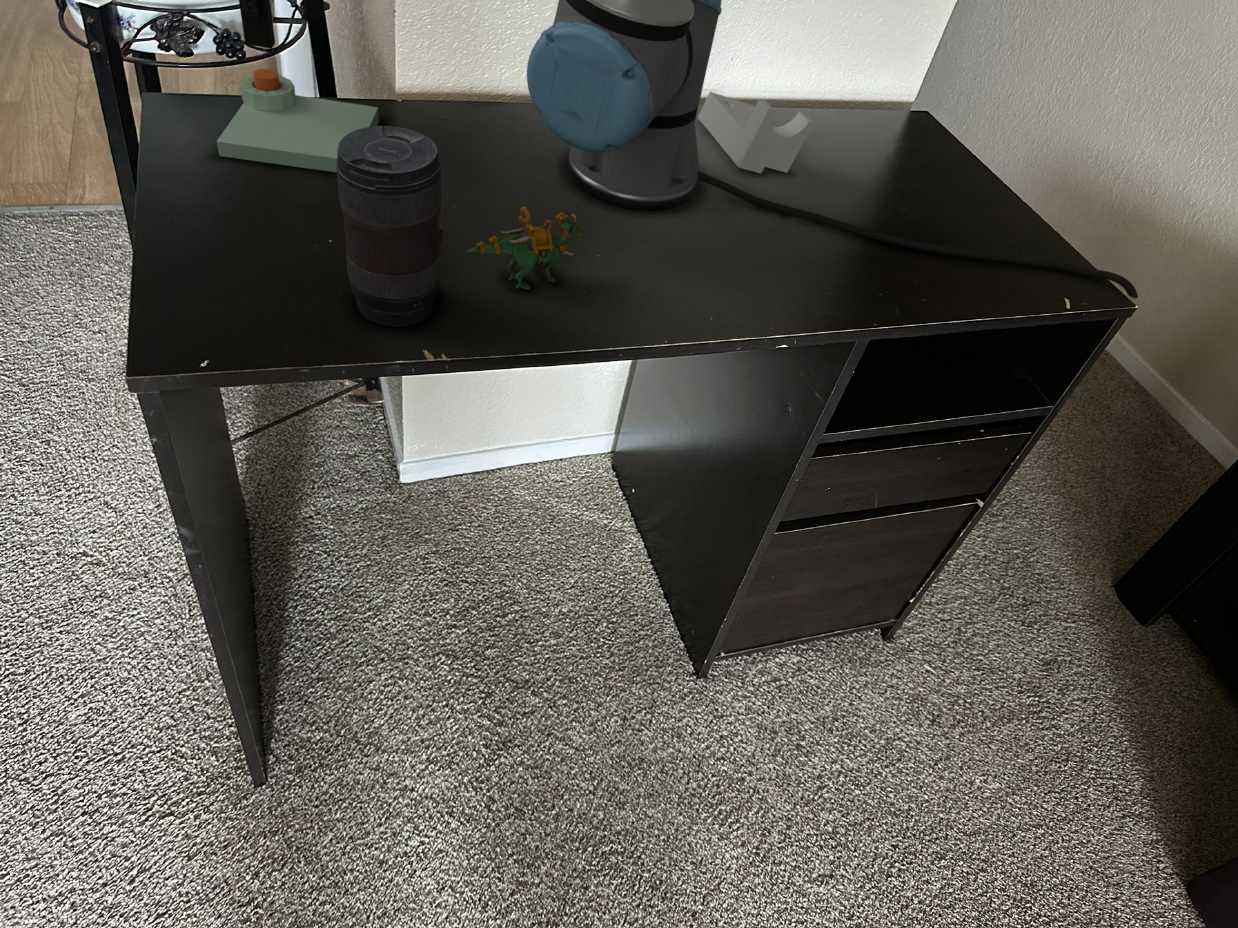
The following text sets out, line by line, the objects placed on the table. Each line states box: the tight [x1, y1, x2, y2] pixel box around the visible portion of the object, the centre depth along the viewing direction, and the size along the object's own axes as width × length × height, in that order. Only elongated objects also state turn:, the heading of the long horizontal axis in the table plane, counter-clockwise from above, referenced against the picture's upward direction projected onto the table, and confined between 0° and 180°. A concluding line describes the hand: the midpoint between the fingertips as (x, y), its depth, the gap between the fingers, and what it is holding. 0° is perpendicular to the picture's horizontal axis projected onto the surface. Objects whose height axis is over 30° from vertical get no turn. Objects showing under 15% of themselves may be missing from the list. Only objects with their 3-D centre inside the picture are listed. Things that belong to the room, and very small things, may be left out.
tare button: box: [252, 68, 280, 91], centre depth 96 cm, size 3×3×2 cm
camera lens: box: [336, 125, 444, 327], centre depth 73 cm, size 8×8×15 cm
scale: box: [216, 74, 380, 174], centre depth 95 cm, size 14×13×4 cm
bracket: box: [697, 91, 815, 174], centre depth 109 cm, size 13×7×8 cm, turn 19°
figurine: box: [466, 205, 582, 290], centre depth 81 cm, size 3×12×8 cm, turn 122°
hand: (260, 43), depth 93 cm, fingers closed
